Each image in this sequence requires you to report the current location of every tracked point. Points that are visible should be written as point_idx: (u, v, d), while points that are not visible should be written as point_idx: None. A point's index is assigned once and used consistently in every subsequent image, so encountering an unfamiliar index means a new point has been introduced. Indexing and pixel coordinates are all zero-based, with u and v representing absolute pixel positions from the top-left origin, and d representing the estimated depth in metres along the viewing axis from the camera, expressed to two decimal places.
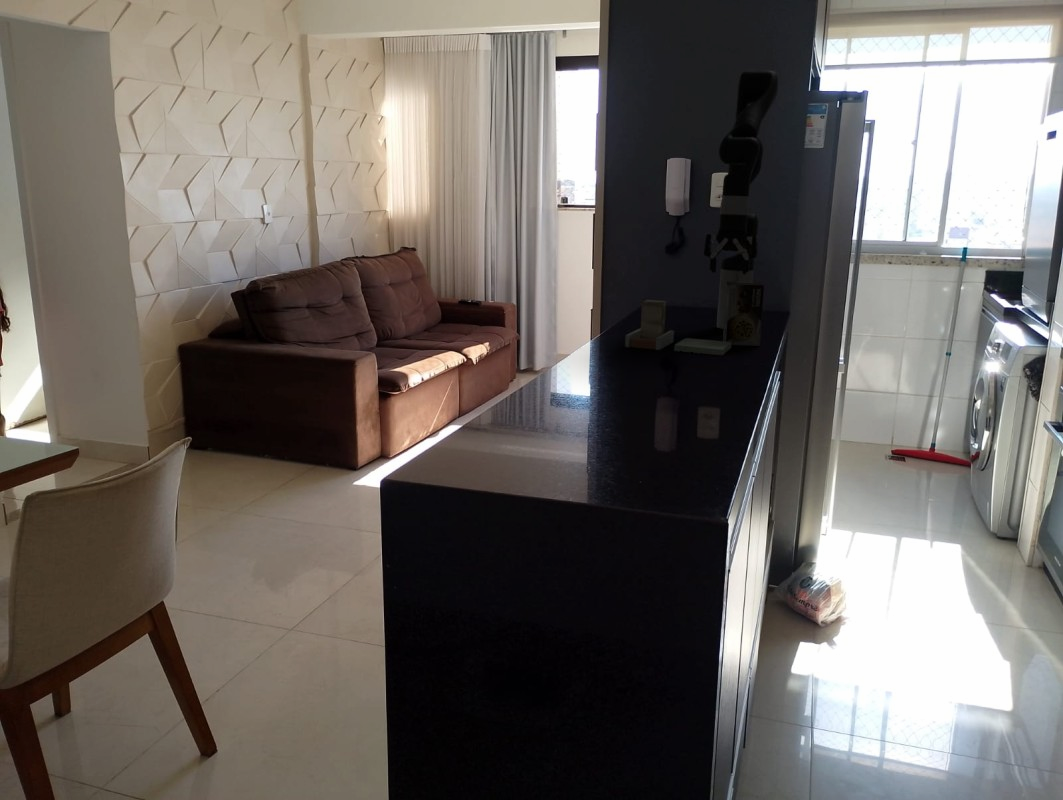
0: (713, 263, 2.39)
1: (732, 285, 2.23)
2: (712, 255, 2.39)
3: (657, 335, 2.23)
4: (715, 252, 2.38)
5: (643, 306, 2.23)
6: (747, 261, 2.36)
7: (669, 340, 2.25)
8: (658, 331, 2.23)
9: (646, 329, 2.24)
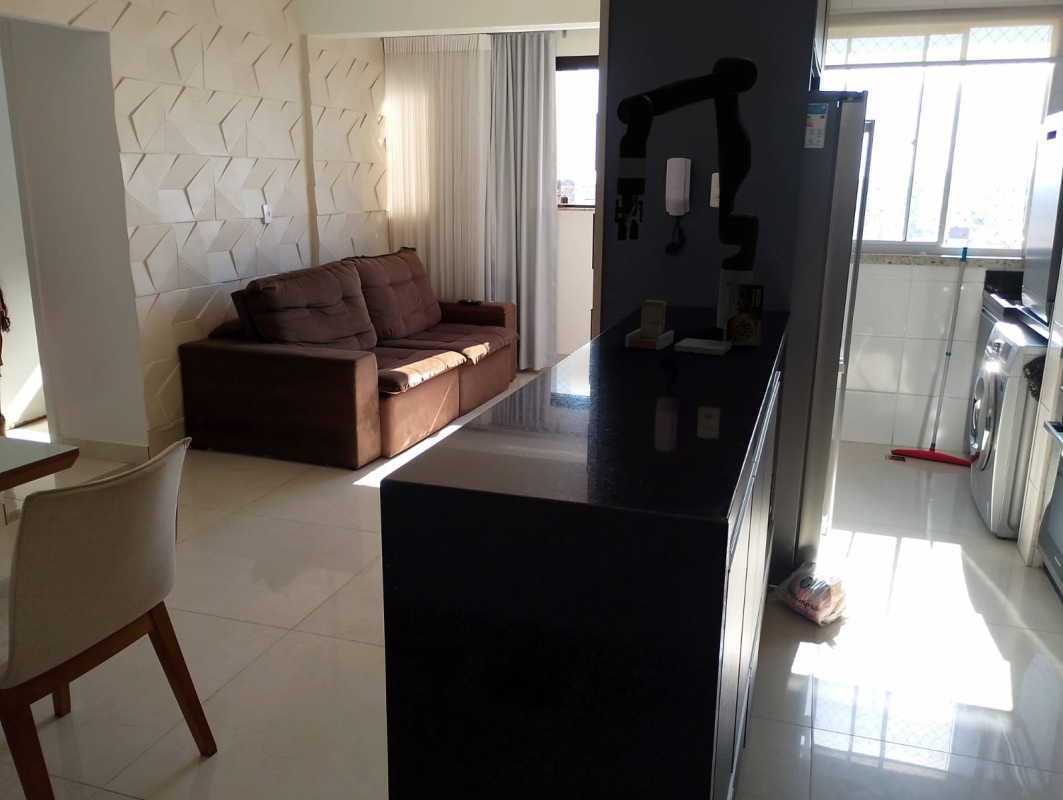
0: (626, 230, 2.24)
1: (732, 285, 2.23)
2: (626, 222, 2.23)
3: (657, 335, 2.23)
4: (627, 218, 2.23)
5: (643, 306, 2.23)
6: None
7: (669, 340, 2.25)
8: (658, 331, 2.23)
9: (646, 329, 2.24)
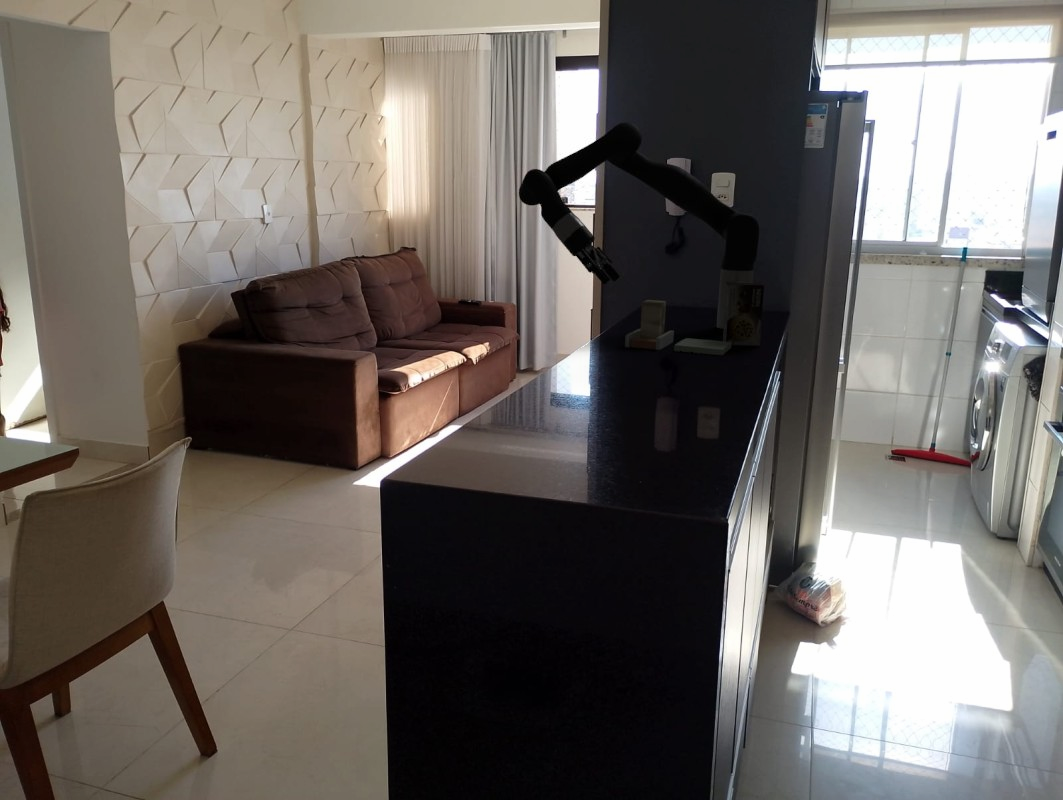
0: (604, 272, 2.23)
1: (732, 285, 2.23)
2: (598, 265, 2.23)
3: (657, 335, 2.23)
4: (597, 262, 2.23)
5: (643, 306, 2.23)
6: None
7: (669, 340, 2.25)
8: (658, 331, 2.23)
9: (646, 329, 2.24)
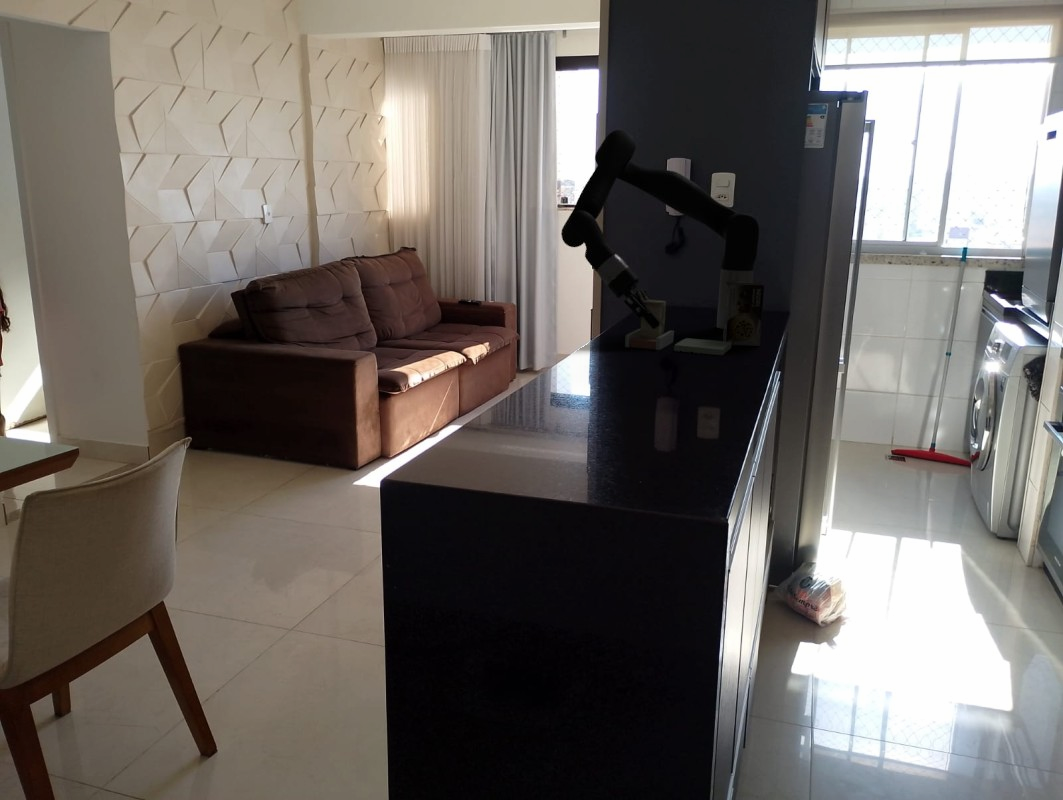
0: (653, 316, 2.22)
1: (732, 285, 2.23)
2: (648, 309, 2.22)
3: (657, 335, 2.23)
4: None
5: None
6: None
7: (669, 340, 2.25)
8: (658, 331, 2.23)
9: (646, 329, 2.24)
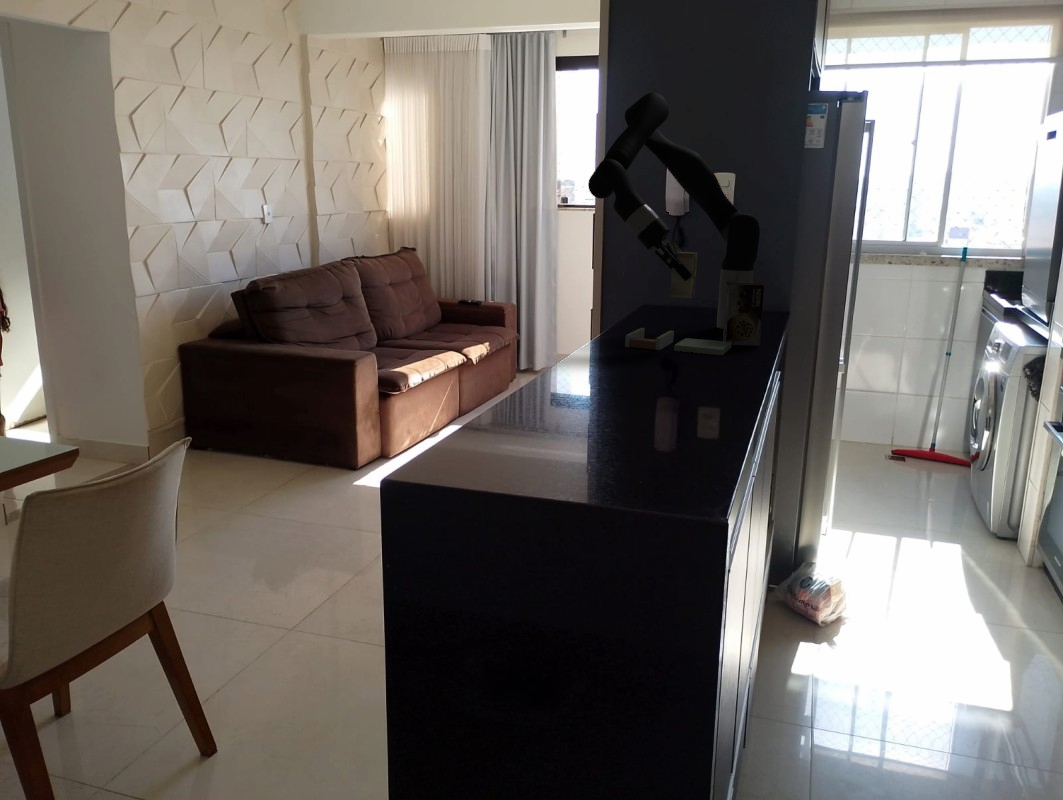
0: (685, 268, 2.14)
1: (732, 285, 2.23)
2: (680, 261, 2.14)
3: (689, 287, 2.15)
4: None
5: None
6: None
7: (669, 340, 2.25)
8: (690, 283, 2.15)
9: (677, 282, 2.16)
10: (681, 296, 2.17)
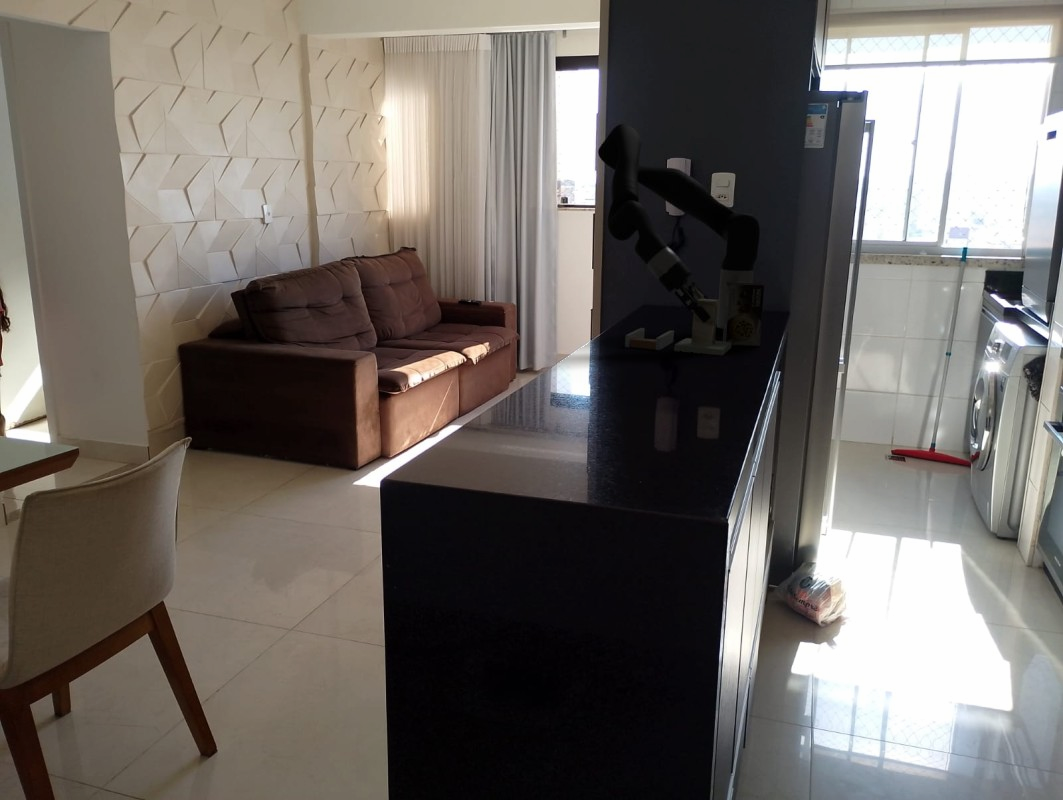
0: (704, 309, 2.13)
1: (732, 285, 2.23)
2: (698, 302, 2.13)
3: (710, 335, 2.15)
4: (697, 300, 2.14)
5: None
6: None
7: (669, 340, 2.25)
8: (711, 331, 2.15)
9: (698, 329, 2.16)
10: (702, 343, 2.17)
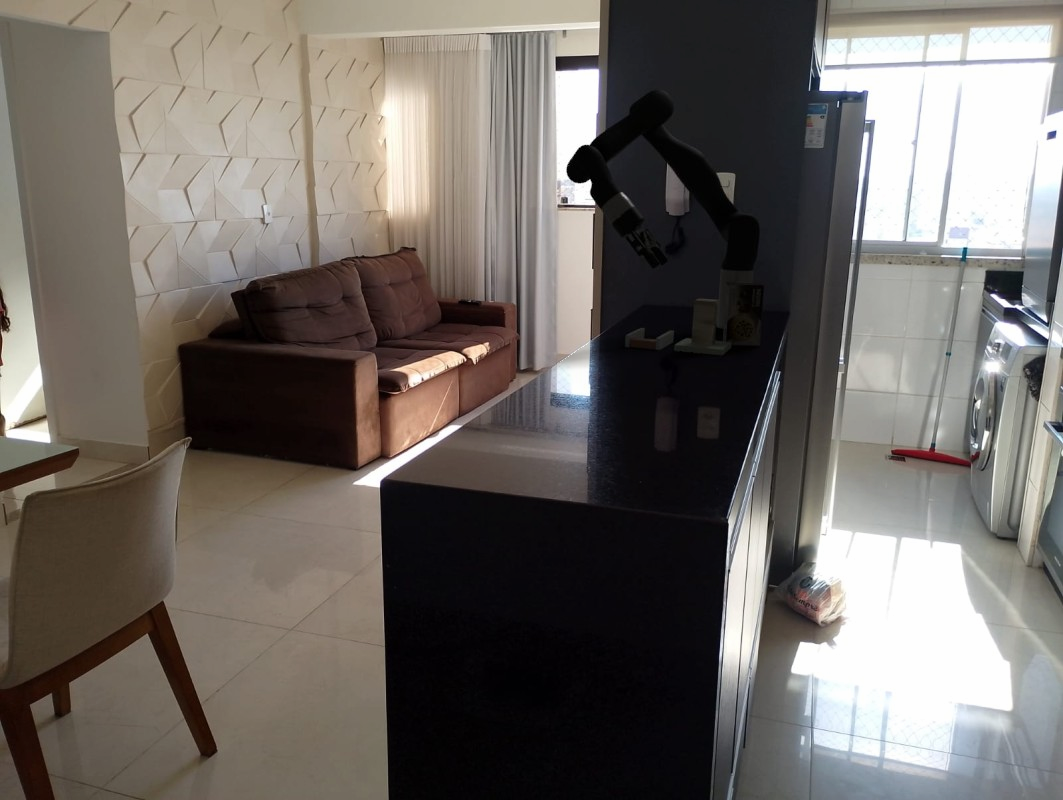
0: (654, 255, 2.16)
1: (732, 285, 2.23)
2: (648, 248, 2.15)
3: (710, 335, 2.15)
4: (647, 245, 2.16)
5: (695, 305, 2.15)
6: None
7: (669, 340, 2.25)
8: (711, 331, 2.15)
9: (698, 329, 2.16)
10: (702, 343, 2.17)
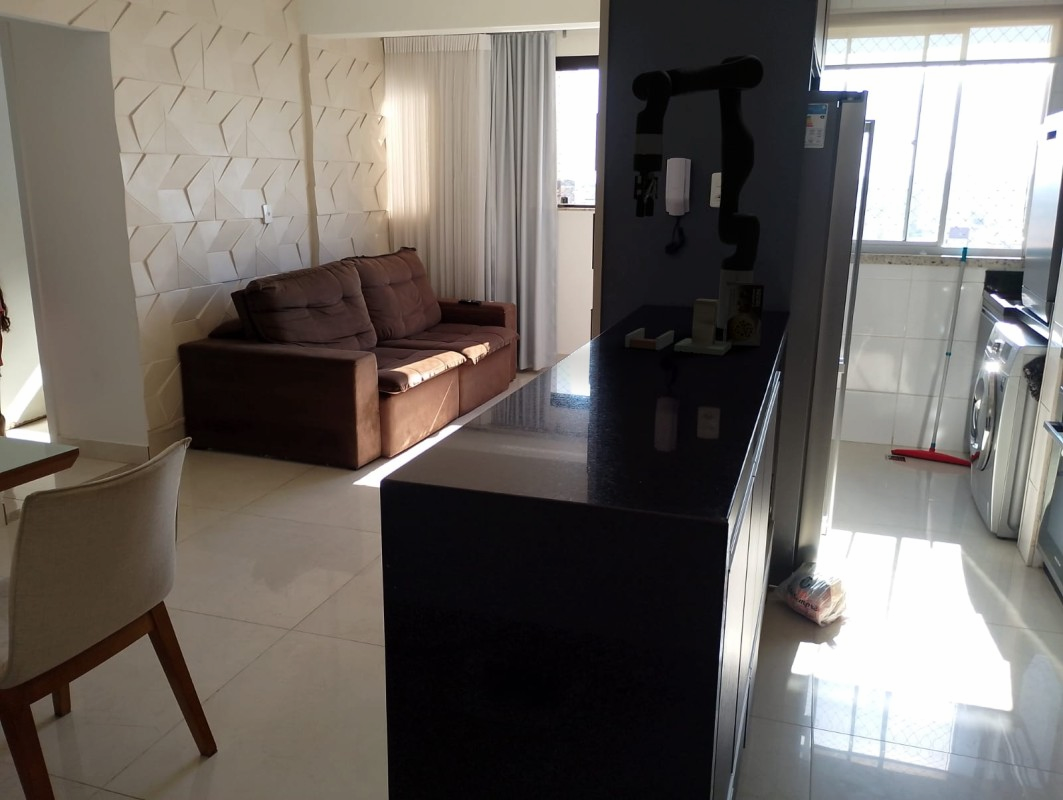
0: (644, 207, 2.23)
1: (732, 285, 2.23)
2: (645, 198, 2.23)
3: (710, 335, 2.15)
4: (646, 195, 2.23)
5: (695, 305, 2.15)
6: None
7: (669, 340, 2.25)
8: (711, 331, 2.15)
9: (698, 329, 2.16)
10: (702, 343, 2.17)
